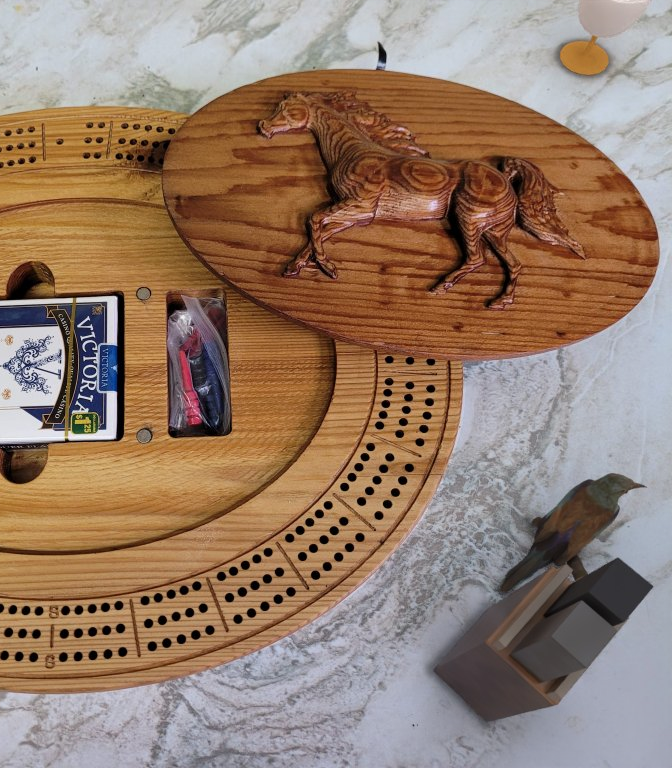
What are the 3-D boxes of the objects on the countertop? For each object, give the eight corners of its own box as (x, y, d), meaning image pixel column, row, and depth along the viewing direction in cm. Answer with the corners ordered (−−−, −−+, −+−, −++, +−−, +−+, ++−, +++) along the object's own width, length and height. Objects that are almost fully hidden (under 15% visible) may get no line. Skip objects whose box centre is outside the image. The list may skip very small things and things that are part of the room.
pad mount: (619, 627, 91) (680, 602, 79) (553, 706, 87) (606, 693, 76) (550, 567, 94) (599, 536, 82) (484, 642, 91) (525, 620, 79)
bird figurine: (532, 625, 112) (638, 542, 100) (476, 569, 116) (572, 482, 104) (568, 585, 121) (671, 505, 108) (516, 534, 125) (609, 451, 112)
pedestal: (542, 657, 111) (619, 627, 91) (486, 722, 108) (553, 706, 87) (488, 608, 114) (550, 567, 94) (432, 669, 111) (484, 642, 91)
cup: (546, 71, 158) (583, -6, 143) (558, 31, 163) (595, -48, 147) (610, 86, 156) (654, 10, 140) (620, 45, 160) (664, -34, 145)
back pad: (601, 610, 90) (654, 586, 80) (573, 642, 89) (624, 622, 78) (569, 584, 92) (618, 556, 81) (542, 615, 91) (588, 591, 80)
